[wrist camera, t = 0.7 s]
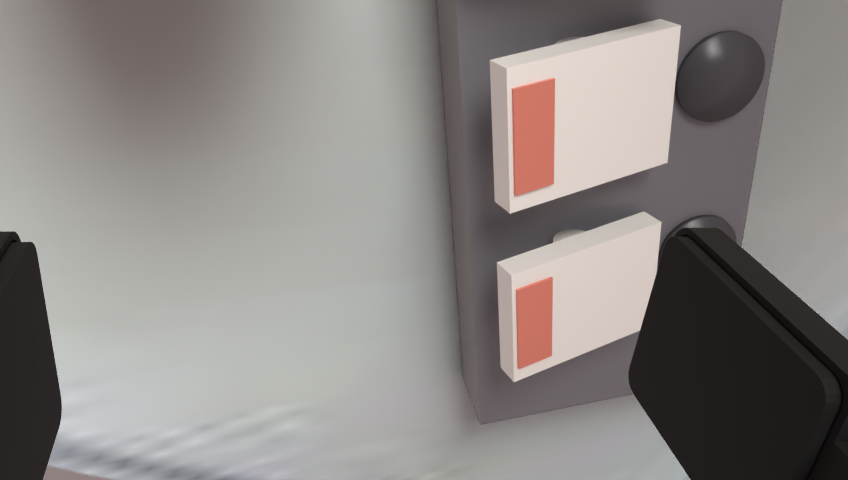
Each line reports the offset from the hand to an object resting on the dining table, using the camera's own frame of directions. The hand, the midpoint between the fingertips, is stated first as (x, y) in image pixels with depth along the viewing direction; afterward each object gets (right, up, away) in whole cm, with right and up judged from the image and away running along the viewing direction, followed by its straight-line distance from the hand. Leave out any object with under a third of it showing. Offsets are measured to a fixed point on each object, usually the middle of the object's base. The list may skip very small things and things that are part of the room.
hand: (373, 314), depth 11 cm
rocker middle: (+7, +6, +19) cm, 22 cm away
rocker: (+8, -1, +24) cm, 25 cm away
